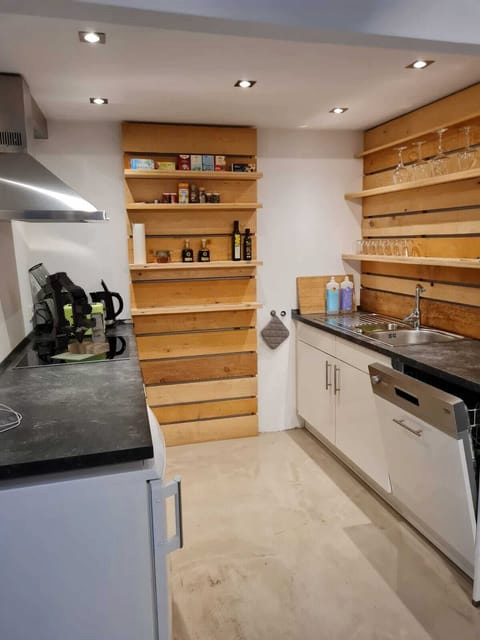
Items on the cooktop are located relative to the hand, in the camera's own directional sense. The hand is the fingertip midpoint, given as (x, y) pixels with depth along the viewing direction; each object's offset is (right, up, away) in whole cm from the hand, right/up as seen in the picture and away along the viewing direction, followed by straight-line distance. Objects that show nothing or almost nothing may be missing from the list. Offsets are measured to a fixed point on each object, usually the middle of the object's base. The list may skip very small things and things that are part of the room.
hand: (80, 343), depth 244 cm
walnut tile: (-1, -2, 0) cm, 2 cm away
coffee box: (-1, 0, +34) cm, 35 cm away
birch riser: (+2, -4, +6) cm, 8 cm away
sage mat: (-2, -6, -5) cm, 8 cm away
